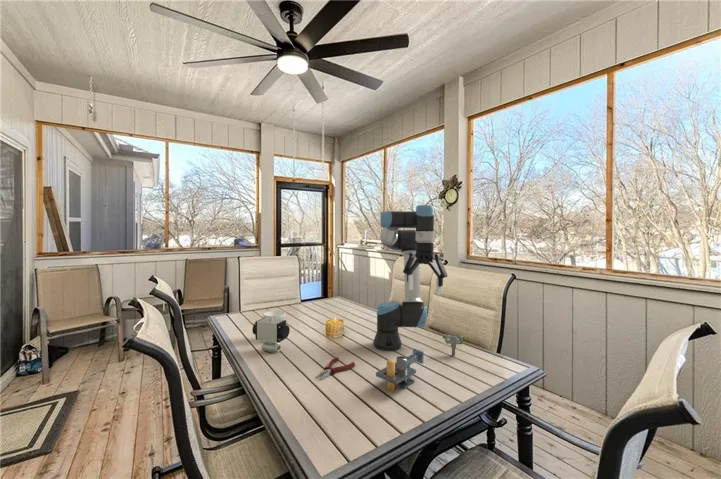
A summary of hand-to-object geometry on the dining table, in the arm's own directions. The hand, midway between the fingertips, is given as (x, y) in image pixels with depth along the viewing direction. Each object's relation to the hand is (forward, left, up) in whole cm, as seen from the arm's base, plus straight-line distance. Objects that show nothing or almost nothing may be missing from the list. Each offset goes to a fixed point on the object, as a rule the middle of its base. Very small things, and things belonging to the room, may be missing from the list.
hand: (424, 292), depth 132 cm
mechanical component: (-2, +31, -37) cm, 48 cm away
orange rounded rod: (-4, -17, -37) cm, 41 cm away
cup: (-86, -20, -37) cm, 96 cm away
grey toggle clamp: (-4, -9, -37) cm, 38 cm away
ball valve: (-72, -30, -37) cm, 86 cm away
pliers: (-34, -22, -37) cm, 55 cm away
